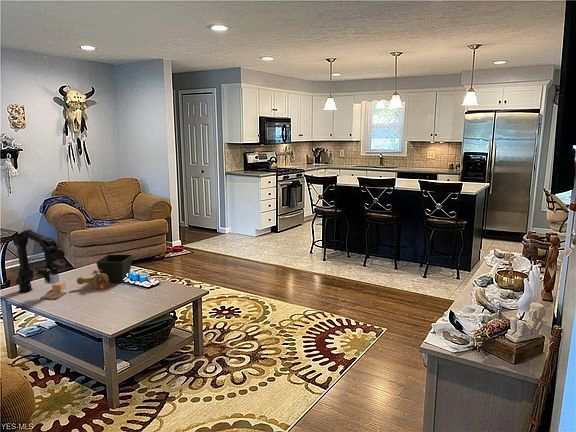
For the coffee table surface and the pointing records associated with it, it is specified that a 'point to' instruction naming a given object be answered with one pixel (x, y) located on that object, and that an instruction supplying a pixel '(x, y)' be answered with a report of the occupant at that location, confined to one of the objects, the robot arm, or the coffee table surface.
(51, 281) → the slate-blue block
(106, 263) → the flower pot
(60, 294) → the walnut base plate
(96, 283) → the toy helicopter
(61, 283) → the terracotta block
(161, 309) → the coffee table surface
